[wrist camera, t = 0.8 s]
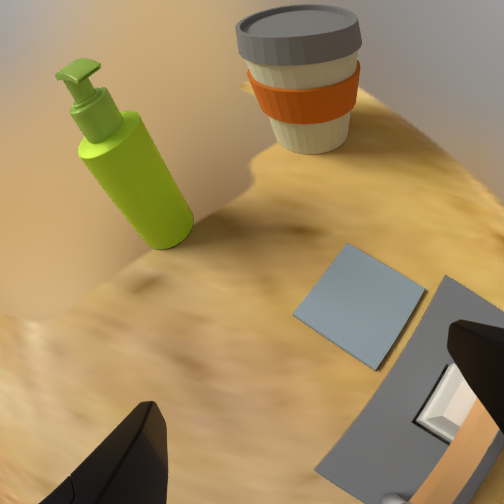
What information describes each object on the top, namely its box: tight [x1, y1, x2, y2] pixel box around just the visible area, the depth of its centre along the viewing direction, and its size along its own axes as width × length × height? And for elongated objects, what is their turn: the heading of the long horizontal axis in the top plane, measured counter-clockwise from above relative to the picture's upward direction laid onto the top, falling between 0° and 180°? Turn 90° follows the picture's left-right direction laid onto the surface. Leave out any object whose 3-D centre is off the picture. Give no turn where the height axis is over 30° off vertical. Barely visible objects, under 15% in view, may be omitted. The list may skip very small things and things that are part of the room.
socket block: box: [314, 275, 504, 504], centre depth 16 cm, size 12×18×6 cm, turn 139°
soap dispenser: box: [55, 58, 193, 250], centre depth 25 cm, size 6×7×20 cm
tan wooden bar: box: [402, 398, 499, 504], centre depth 12 cm, size 2×15×2 cm, turn 139°
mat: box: [293, 243, 425, 371], centre depth 25 cm, size 8×8×1 cm
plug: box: [413, 363, 500, 446], centre depth 16 cm, size 5×6×6 cm
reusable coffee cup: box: [236, 4, 362, 154], centre depth 31 cm, size 13×13×15 cm
